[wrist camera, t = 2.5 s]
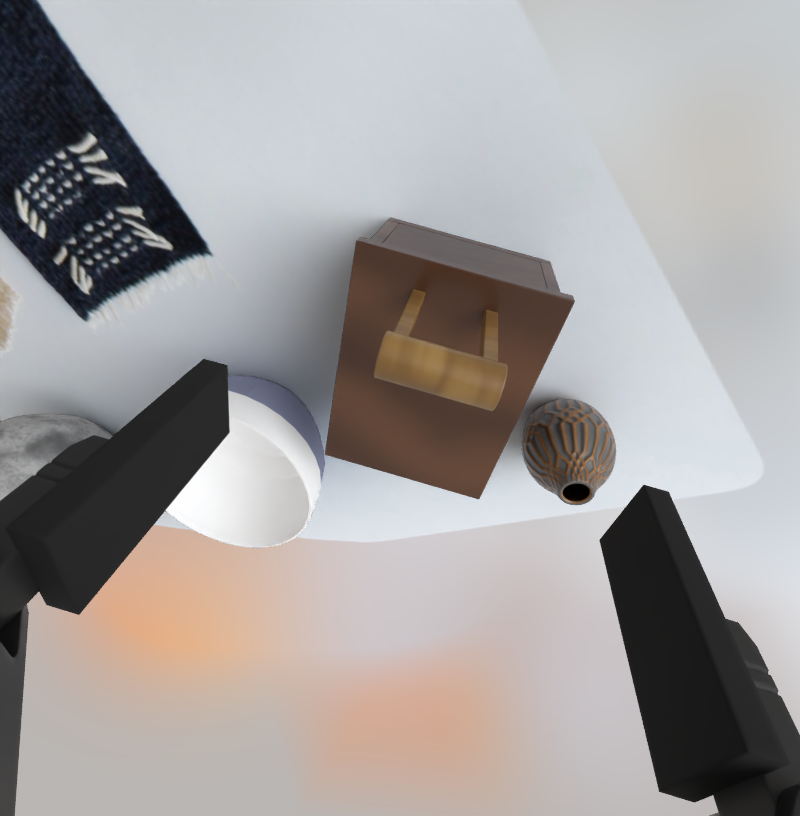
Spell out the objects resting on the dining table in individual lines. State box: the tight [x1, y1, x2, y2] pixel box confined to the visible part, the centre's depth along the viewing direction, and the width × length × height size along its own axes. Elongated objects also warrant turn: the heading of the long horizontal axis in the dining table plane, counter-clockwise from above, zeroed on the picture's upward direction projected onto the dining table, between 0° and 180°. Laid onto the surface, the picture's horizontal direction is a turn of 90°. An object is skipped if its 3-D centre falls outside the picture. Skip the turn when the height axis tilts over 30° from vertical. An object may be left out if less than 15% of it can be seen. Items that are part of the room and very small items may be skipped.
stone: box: [0, 414, 113, 501], centre depth 44 cm, size 15×16×15 cm
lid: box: [325, 237, 575, 499], centre depth 24 cm, size 15×12×9 cm
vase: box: [522, 399, 616, 505], centre depth 34 cm, size 7×7×9 cm
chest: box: [370, 218, 560, 292], centre depth 31 cm, size 15×12×9 cm
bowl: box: [165, 375, 325, 548], centre depth 39 cm, size 16×16×10 cm
